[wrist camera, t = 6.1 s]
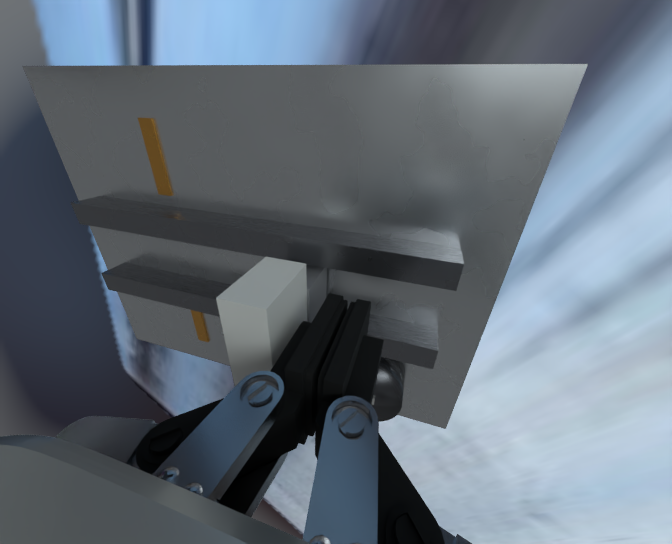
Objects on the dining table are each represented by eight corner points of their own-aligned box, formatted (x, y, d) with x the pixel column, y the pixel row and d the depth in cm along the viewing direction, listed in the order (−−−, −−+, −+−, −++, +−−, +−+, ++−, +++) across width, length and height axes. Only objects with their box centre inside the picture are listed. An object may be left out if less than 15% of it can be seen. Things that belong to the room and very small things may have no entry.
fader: (325, 315, 15) (278, 402, 11) (292, 308, 16) (233, 388, 11) (327, 242, 13) (269, 310, 8) (288, 236, 14) (213, 297, 9)
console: (444, 396, 19) (447, 465, 15) (161, 320, 25) (111, 357, 21) (556, 75, 10) (632, 48, 6) (74, 72, 16) (-40, 57, 12)
